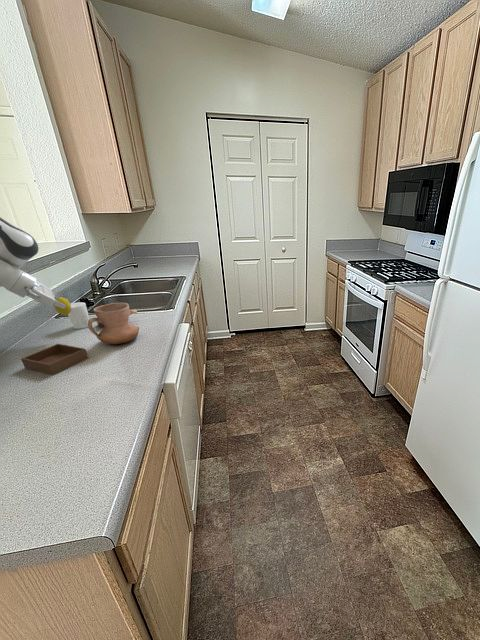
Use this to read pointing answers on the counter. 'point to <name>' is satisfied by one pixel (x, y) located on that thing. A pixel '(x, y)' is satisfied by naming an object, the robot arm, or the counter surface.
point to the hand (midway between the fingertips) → (64, 305)
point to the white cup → (79, 315)
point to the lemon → (67, 308)
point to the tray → (54, 358)
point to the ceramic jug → (114, 323)
